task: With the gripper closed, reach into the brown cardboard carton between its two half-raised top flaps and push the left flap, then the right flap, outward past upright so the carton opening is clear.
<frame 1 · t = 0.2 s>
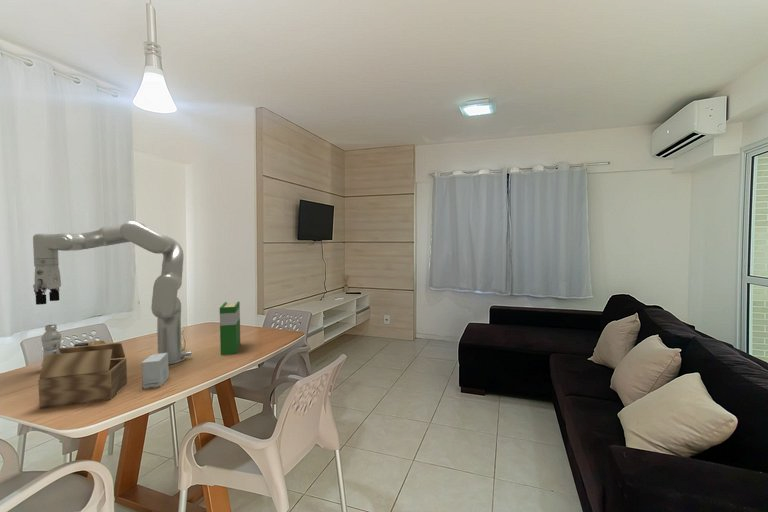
hand: (48, 302, 148), 31 cm above the table, tool pointing down, fingers open, 9 cm apart
plastic bottle: (52, 370, 154), on the table
bread roll: (94, 357, 171), on the table
left flap: (77, 363, 121), point 14 cm above the table, hinge at 60.0°
right flap: (93, 353, 133), point 14 cm above the table, hinge at 60.0°
skincare box: (156, 383, 138), on the table
hardback book: (231, 349, 182), on the table
supplement bottle: (82, 371, 153), on the table
carton: (87, 394, 127), on the table
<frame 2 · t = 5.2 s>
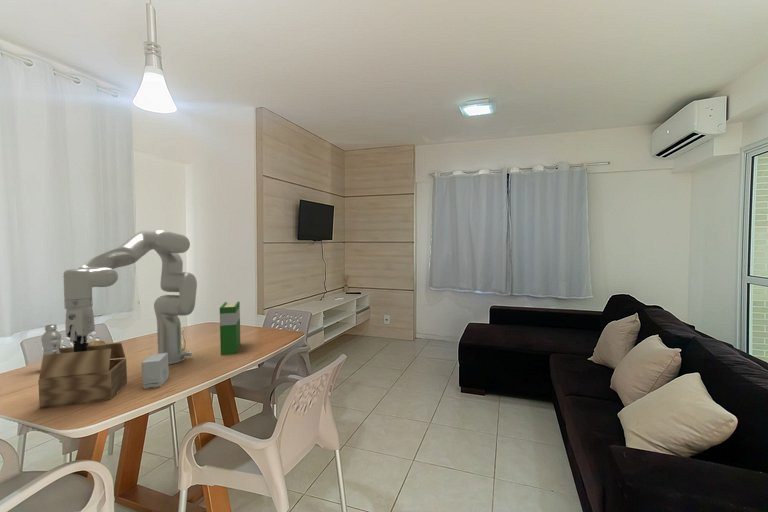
hand: (80, 354, 123), 16 cm above the table, tool pointing down, fingers closed
left flap: (76, 363, 121), point 14 cm above the table, hinge at 67.9°, touching gripper
everything else where it was.
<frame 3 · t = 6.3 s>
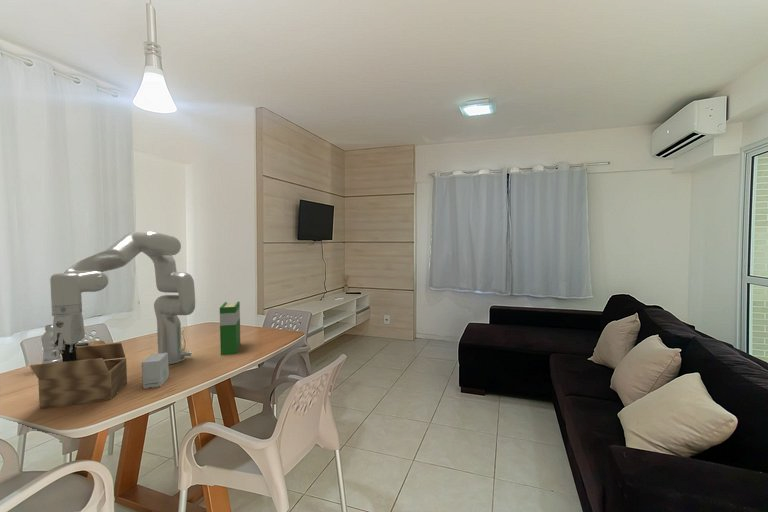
hand: (69, 363, 116), 15 cm above the table, tool pointing down, fingers closed
left flap: (71, 368, 117), point 13 cm above the table, hinge at 126.8°, touching gripper
everything else where it was.
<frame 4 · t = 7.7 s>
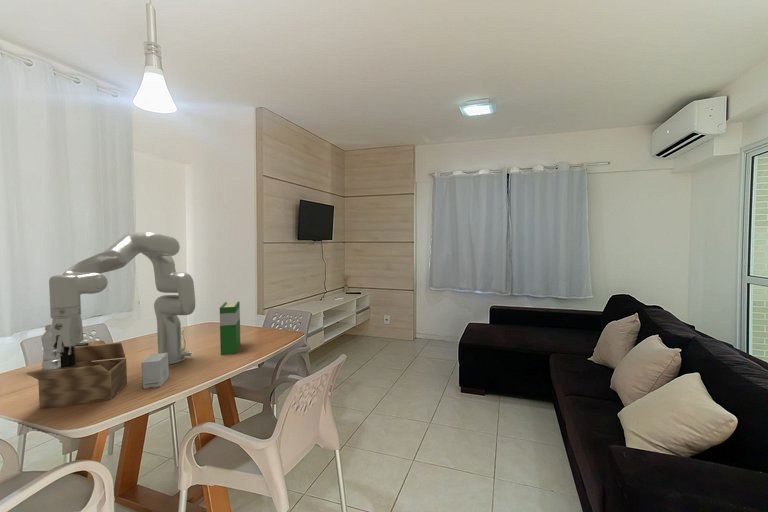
hand: (68, 366, 115), 15 cm above the table, tool pointing down, fingers closed
left flap: (70, 372, 116), point 12 cm above the table, hinge at 145.6°
everything else where it was.
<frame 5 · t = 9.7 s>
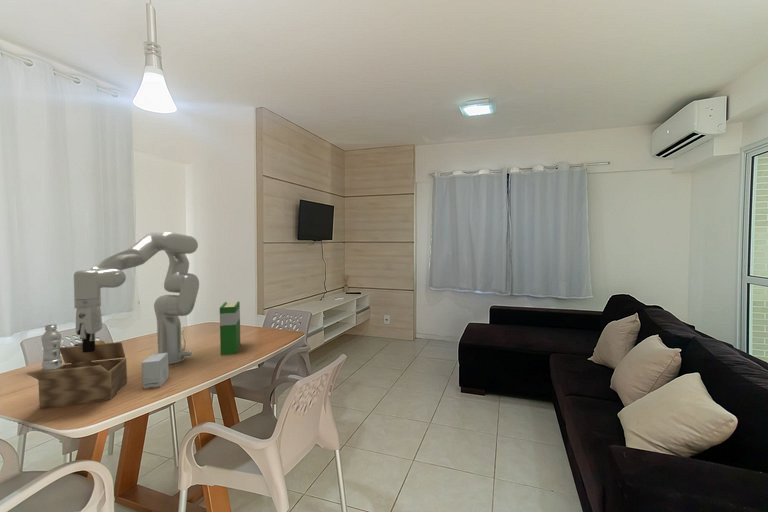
hand: (88, 351, 129), 15 cm above the table, tool pointing down, fingers closed
right flap: (93, 352, 133), point 14 cm above the table, hinge at 62.4°, touching gripper
everything else where it was.
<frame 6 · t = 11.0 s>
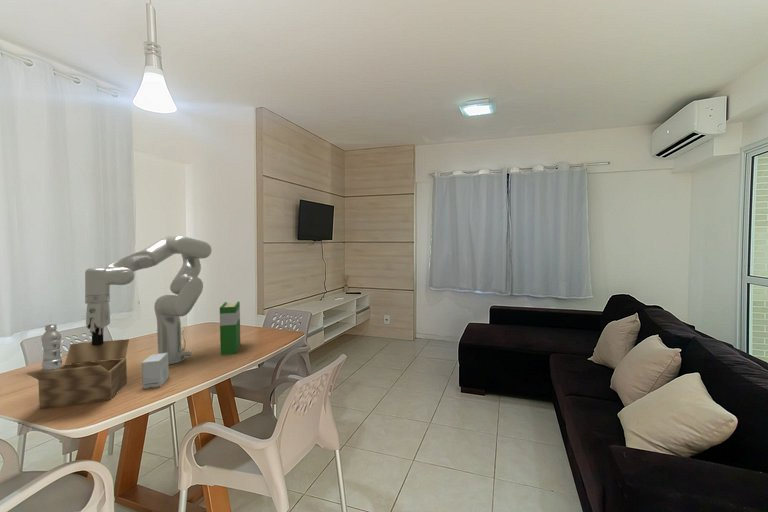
hand: (97, 344, 137), 16 cm above the table, tool pointing down, fingers closed
right flap: (98, 351, 137), point 13 cm above the table, hinge at 126.7°, touching gripper
everything else where it was.
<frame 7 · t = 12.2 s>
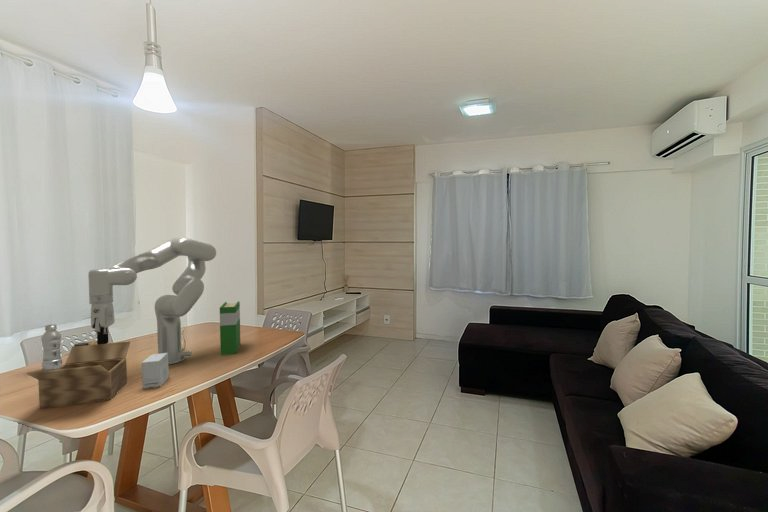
hand: (102, 343, 141), 15 cm above the table, tool pointing down, fingers closed
right flap: (99, 352, 137), point 13 cm above the table, hinge at 141.0°
everything else where it was.
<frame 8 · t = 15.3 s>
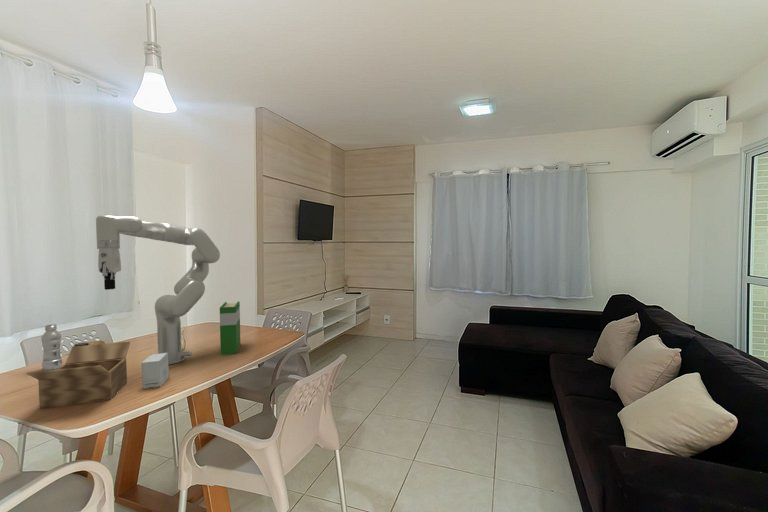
hand: (110, 289, 144), 37 cm above the table, tool pointing down, fingers closed
nothing on the table moved.
at the end: left flap at +146° (first picture: +60°); right flap at +141° (first picture: +60°) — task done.
